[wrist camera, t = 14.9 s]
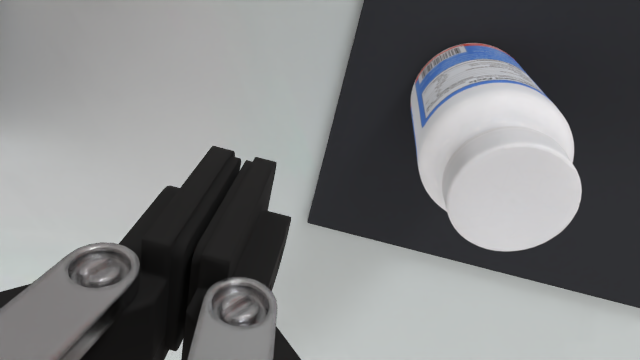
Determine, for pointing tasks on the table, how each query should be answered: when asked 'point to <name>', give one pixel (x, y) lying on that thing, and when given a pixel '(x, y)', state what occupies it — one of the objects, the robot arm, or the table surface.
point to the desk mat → (557, 84)
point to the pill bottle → (493, 149)
